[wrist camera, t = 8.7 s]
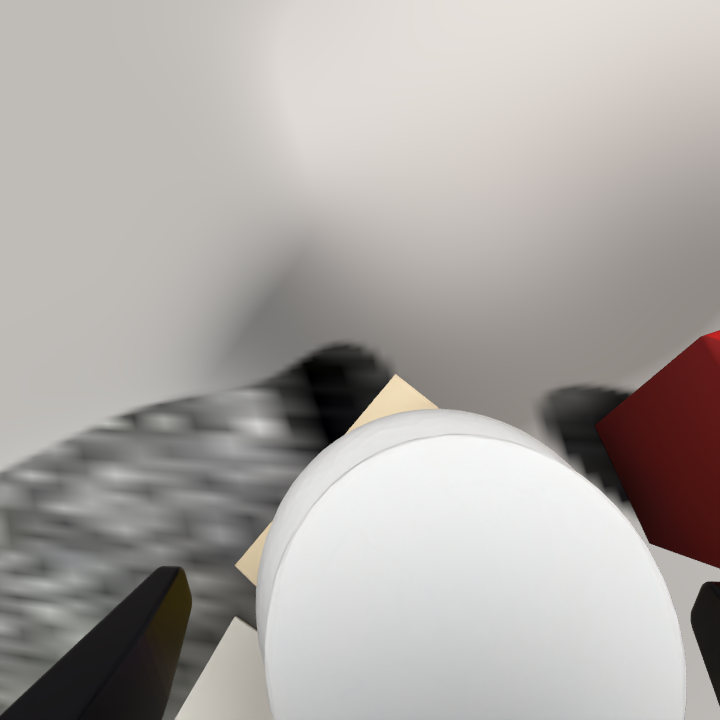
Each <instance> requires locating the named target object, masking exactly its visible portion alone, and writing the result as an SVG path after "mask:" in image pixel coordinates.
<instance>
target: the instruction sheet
mask: <svg viewBox="0 0 720 720" xmlns="http://www.w3.org/2000/svg"><path fill="white" fill-rule="evenodd" d="M175 720H273V717H272V714H271V708H270V703H269V698H268V693H267V686H266V675H265V667H264V663H263V659H262V655H261V650H260V646H259V640H258V632H257V630H256V629H254V628H253V627H251V626H250V625H248V624H247V623H246V622H244V621H243V620H241V619H240V618H238V617H237V616H235V617H234V619H233V621H232V622H231V624H230V626H229V627H228V629H227V631H226V632H225V634H224V636H223V638H222V639H221V641H220V643H219V644H218V646H217V648H216V650H215V651H214V653H213V655H212V656H211V658H210V660H209V662H208V663H207V665H206V667H205V668H204V670H203V672H202V674H201V675H200V677H199V679H198V680H197V682H196V684H195V686H194V687H193V689H192V691H191V692H190V694H189V696H188V698H187V699H186V701H185V703H184V704H183V706H182V708H181V710H180V711H179V713H178V715H177V716H176V718H175Z"/></svg>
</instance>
